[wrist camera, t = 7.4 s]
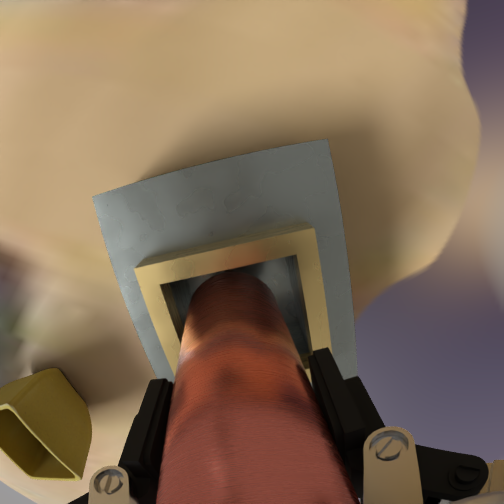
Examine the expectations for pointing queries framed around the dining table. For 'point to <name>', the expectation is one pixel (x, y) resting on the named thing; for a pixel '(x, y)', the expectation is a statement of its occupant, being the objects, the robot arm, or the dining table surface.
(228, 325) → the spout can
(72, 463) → the flower pot
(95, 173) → the dining table surface
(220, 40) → the dining table surface
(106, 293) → the dining table surface
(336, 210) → the grey box with hole
